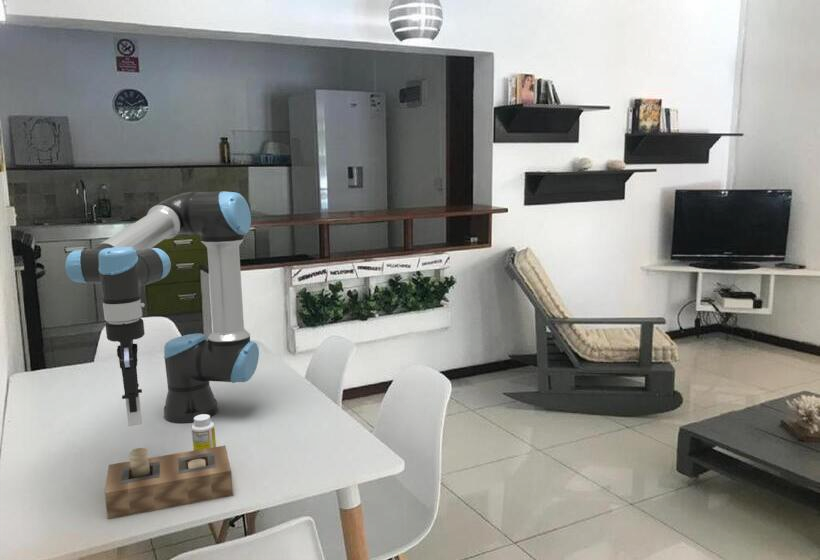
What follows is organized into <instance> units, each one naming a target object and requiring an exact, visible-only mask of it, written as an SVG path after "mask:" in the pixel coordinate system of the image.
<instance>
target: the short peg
mask: <svg viewBox="0 0 820 560" xmlns="http://www.w3.org/2000/svg"><path fill="white" fill-rule="evenodd" d="M203 466H206V463H205V460H204V459H194V460H192V461H190V462H189V463H188V469H191V468H197V467H203Z"/></svg>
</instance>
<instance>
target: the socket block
mask: <svg viewBox="0 0 820 560" xmlns="http://www.w3.org/2000/svg"><path fill="white" fill-rule="evenodd" d="M148 458H149V467H150V476H145V477H139V478H134V479H132V472H131V463H130V460H129V461H123V462H116V463H111V464H108V467H107V468H108V470H107V476H106V481H105V490H104V499H105V508H106V517H107V520H111V519H115V518H121V517H125V516H131V515H136V514H137V515H138V514H141V513H142V514H143V513H147V512H152V511H158V510H163V509H168V508H174V507H179V506H184V505H188V504H189V505H190V504H194V503H195V504H196V503H199V502H200V503H201V502H206V501H210V500H215V499H216V500H217V499H220V498H226V497H230V496H231V497H232V496H234V491H233V479H232V469H231V463H230V461H229V456H228V451H227V447H226V445H219V446H216V447H213V448H207V449H201V450H195V451H194V450H188V451H184V452H179V453H171V454H166V455H159V456H154V457H153V456H152V457H148ZM194 459H204V460H205V463H206V466H203V467H197V468H191V469H188V463H189V462H190V461H192V460H194Z"/></svg>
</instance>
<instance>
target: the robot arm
mask: <svg viewBox="0 0 820 560" xmlns="http://www.w3.org/2000/svg"><path fill="white" fill-rule="evenodd" d="M251 224H252V215H251V210H250V206H249V204H248V202H247V200H246V199H245V197H244V196H243V195H242V194H240V193H238V192H234V191H233V192H232V191H203V192H202V191H200V192H199V191H198V192H196V191H189V192H188V191H187V192H183V193H179V194H176V195H174V196H171V197H170V198H166V199H165V200H163V201H160V202H159V203H157V204H156V205H154V206H152V207H151V208H150V209H149V210H148V212H147V214H146V215H145V216H143V217H141V218H140V219H139V220H137V221H135V222H134V223H132V224H131V225H129V226H127V227H125V228H123V229H122V230H120V231H118V232H117V233H115V234H113V235H112V236H111V237H109V238H107V239H105V240H104V241H103V242H101V243H99V244H98V245H95V246H94V247H92V248H91V249H79V250H78V249H77V250H76V249H75V250H72V251H71V252H70V253H69V254H68V255H67V257H66V259H65V265H64V266H65V271H66V275H67V277H68V278H69V280H70V281H72V282H74V283H81V284H88V285H89V284H100V285H101V286H100V287H101V293H102V308H103V317H104V320H105V322H106V323H105V332H106V339H107V340H108V341H110V342H115V343H116V342H118V343H119V345H117V348H116V353H117V354H116V355H117V358H118V362H119V363H118V364H119V368H120V369H121V375H122V381H123V382H122V383H123V392H124V394H123V395H121V399H122V400H125V406H126V407H125V408H126V415H127V424H128V425H127V426H128V427H133V426H139V425H143V420H142V409H141V400H140V394H142V393H143V389H142V388H140V389H139V386H140V385H139V381H138V372H137V370H138V369H137V368H138V348H139V347H138V343H134V340H139V339H141V338H143V337H144V336H145V323H144V319H142V317H143V309H142V308H145V306H146V304H145V303H144V302H141V301H142V300H141V299H142V297H141V287H143V286H147V285H149V284H153V283H157V282H159V281H161V280H162V279H164V278H166V277H167V276H168V275H169V273H170V271H171V267H172V263H171V260H170V259H171V258H170V257H169V255H168V254H167V253H166V252H165V250H162V249H161V248H157V247H155V246H156V245H158V244H159V243H161V242H162V241H164V240H169V239H170V240H171V239H173V238H175V237H176V236H179V235H200V243H202V244H203V245H204V246H205V247H206V250H207V251H206V252H207V263H208V265H207V266H208V276H209V278H208V279H209V291H210V305H211V308H210V309H211V318H212V319H211V320H212V332H211V333H210V334H209V335H208V337H206V335H205V333H190V334H185V335H181V336H176V337H174V338H172V339H170V340H168V341H167V342H166V343H165V344H164V347H163V348H164V349H163V350H164V352H163V353H164V354H163V359H164V364H165V373H166V381H167V382H166V383H167V394H166V397H165V398H166V399H165V405H164V406H163V407H164V408H163V415H164V416H163V417H164V419H165V420H166V421H168V422H172V423H175V424H176V423H177V424H185V423H194V417H195V416H197V415H201V414H207V415H210V418H211V417H213V416H214V415H216V414H217V412H218V410H219V408H218V402H217V399H216V398H215V395H214V393H213V390H212V388H211V384H210V382H222V383H232V384H235V383H246V382H248V381H250V380H251V379H252V378H253V376H254V375H255V373H256V370H257V367H258V364H259V358H260V357H259V356H260V349H259V346H258V343H256V342H255V341H254V340H251V334H250V332H249V331H248V330H246V328H245V323H244V322H245V321H244V320H245V319H244V307H243V305H244V304H243V291H242V290H243V289H242V275H241V274H242V273H241V258H240V245H241V244H242V243H243V242H244V240H245V235H246V234H248V233H249V231H250V230H251Z"/></svg>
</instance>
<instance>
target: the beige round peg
mask: <svg viewBox="0 0 820 560" xmlns="http://www.w3.org/2000/svg"><path fill="white" fill-rule="evenodd" d="M128 454H129V455H128V456H129V461H130V463H131V472H132V479H134V478H139V477H145V476H150V467H149V458H150V457H149V450H148V448H146V447H139V448H134V449H132V450H131V451H130V452H129V453H128Z"/></svg>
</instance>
